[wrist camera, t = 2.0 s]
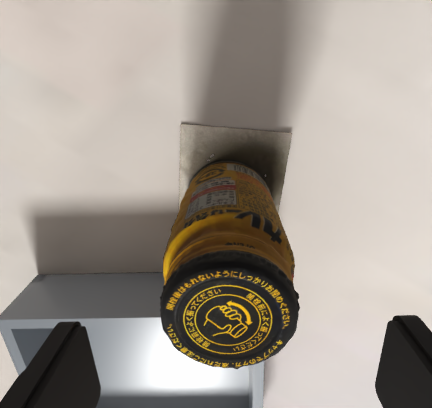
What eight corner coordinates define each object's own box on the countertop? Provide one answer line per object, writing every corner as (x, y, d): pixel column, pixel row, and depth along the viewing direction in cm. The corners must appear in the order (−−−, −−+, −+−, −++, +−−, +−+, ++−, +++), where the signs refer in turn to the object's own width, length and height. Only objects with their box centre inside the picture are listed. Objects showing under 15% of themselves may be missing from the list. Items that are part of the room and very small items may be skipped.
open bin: (37, 274, 25) (-5, 319, 20) (257, 270, 24) (265, 315, 20) (84, 417, 32) (60, 474, 27) (255, 417, 31) (261, 476, 27)
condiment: (178, 236, 23) (136, 380, 12) (181, 123, 20) (128, 182, 9) (272, 243, 23) (316, 393, 12) (291, 132, 20) (373, 200, 9)
